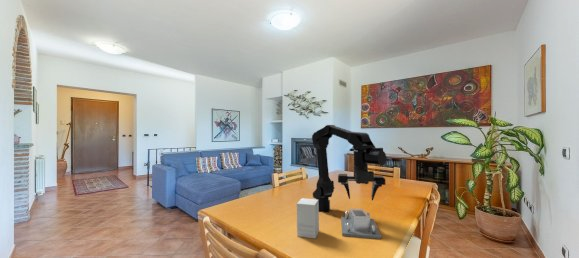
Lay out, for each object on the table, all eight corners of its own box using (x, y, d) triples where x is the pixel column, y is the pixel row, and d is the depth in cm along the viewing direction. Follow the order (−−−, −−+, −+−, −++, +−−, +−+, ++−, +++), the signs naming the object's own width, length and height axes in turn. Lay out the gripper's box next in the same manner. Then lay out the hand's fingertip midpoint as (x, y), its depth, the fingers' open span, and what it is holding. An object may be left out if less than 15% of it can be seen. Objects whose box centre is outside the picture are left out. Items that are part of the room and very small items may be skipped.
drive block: (354, 230, 88) (354, 217, 88) (349, 220, 98) (349, 208, 98) (370, 230, 87) (370, 217, 87) (363, 220, 97) (363, 208, 97)
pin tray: (342, 235, 85) (342, 225, 85) (341, 218, 102) (341, 209, 102) (381, 239, 83) (381, 228, 83) (373, 221, 99) (373, 212, 99)
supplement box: (319, 230, 90) (319, 199, 90) (315, 239, 83) (315, 205, 83) (301, 228, 92) (301, 197, 92) (296, 236, 85) (296, 203, 85)
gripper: (337, 164, 89) (337, 204, 89) (388, 166, 85) (388, 207, 85) (338, 160, 100) (338, 196, 100) (382, 162, 96) (382, 198, 96)
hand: (360, 199), depth 95 cm, fingers open, 9 cm apart
